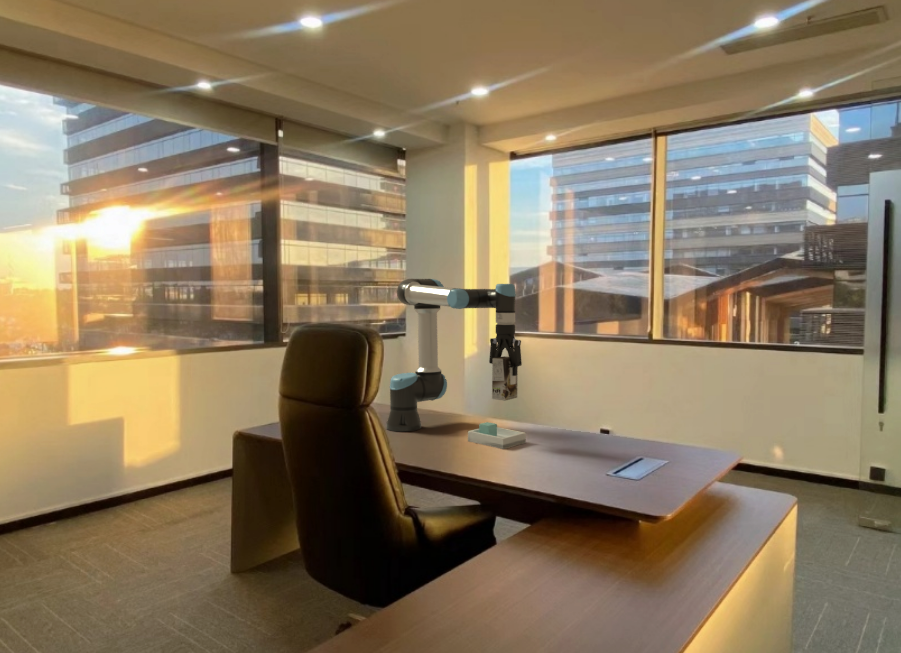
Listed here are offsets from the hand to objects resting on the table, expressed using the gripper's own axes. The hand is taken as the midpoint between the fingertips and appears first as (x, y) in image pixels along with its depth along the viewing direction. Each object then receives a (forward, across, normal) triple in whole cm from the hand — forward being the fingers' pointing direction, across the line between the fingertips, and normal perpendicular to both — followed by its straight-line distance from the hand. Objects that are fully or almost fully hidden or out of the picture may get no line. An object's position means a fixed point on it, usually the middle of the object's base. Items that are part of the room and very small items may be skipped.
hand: (505, 383), depth 242 cm
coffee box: (+6, 0, 0) cm, 6 cm away
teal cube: (+22, -9, 0) cm, 24 cm away
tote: (+24, -4, 0) cm, 24 cm away
